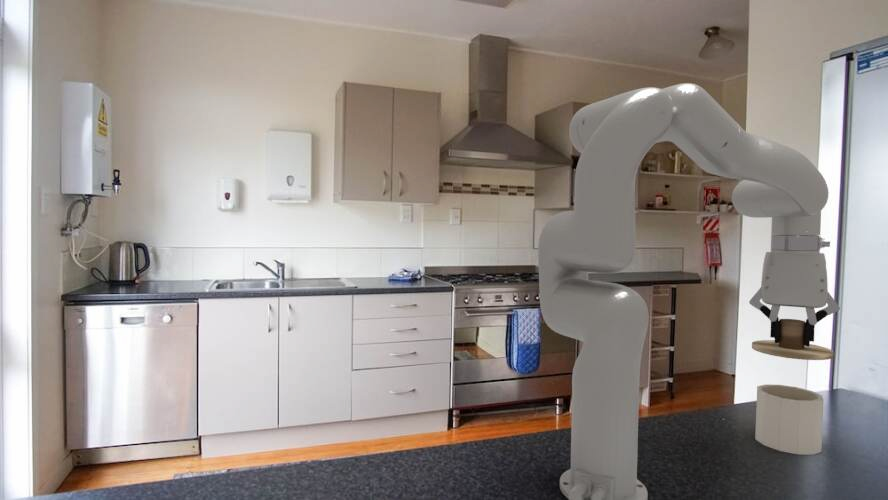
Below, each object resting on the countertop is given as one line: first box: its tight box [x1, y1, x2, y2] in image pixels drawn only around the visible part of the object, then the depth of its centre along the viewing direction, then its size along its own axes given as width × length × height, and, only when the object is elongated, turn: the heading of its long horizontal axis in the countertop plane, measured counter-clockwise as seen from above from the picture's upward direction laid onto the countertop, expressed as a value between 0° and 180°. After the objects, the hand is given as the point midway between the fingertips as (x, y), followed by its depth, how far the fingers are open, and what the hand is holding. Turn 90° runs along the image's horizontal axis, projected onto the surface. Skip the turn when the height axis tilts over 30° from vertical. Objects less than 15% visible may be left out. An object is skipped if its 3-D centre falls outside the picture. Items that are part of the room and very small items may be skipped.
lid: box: [751, 318, 834, 361], centre depth 96 cm, size 13×13×6 cm
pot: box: [754, 384, 824, 456], centre depth 96 cm, size 10×10×10 cm
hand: (791, 342), depth 96 cm, fingers closed on lid, 4 cm apart
